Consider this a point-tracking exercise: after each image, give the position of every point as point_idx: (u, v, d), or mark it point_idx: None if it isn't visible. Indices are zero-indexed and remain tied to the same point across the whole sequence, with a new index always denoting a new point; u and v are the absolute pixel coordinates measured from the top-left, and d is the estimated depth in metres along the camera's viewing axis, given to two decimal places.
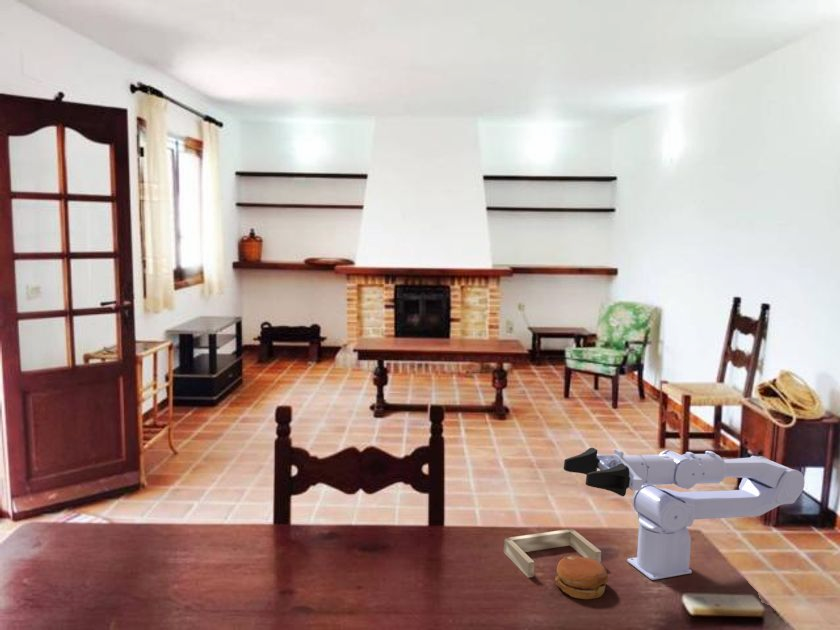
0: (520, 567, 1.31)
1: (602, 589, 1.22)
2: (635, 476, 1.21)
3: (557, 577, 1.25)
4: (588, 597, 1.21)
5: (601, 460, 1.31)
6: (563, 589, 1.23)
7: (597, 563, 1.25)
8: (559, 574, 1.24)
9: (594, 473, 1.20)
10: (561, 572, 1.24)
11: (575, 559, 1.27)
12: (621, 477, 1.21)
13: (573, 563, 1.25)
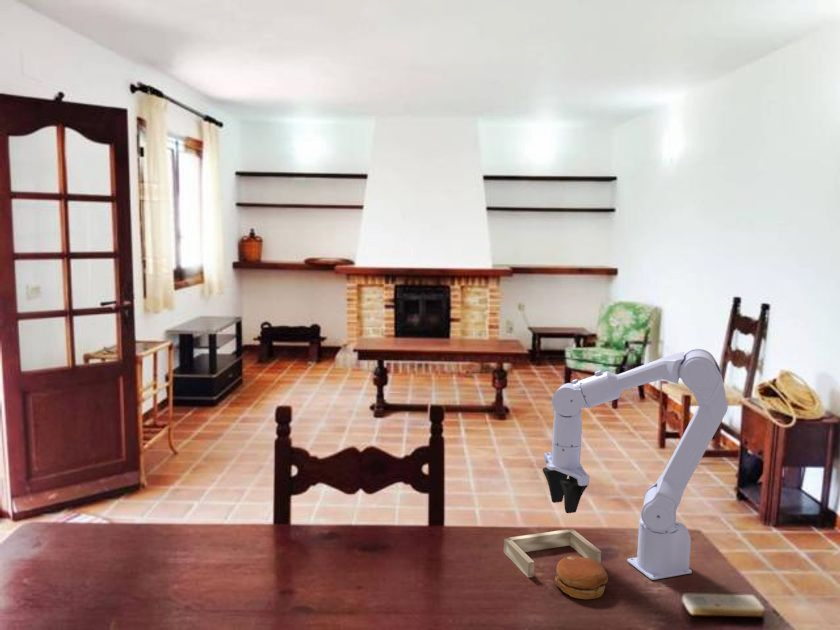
0: (520, 567, 1.31)
1: (602, 589, 1.22)
2: (576, 477, 1.31)
3: (557, 577, 1.25)
4: (588, 597, 1.20)
5: None
6: (563, 589, 1.22)
7: (597, 563, 1.25)
8: (559, 574, 1.24)
9: (566, 507, 1.35)
10: (561, 572, 1.24)
11: (575, 559, 1.27)
12: None
13: (573, 563, 1.25)
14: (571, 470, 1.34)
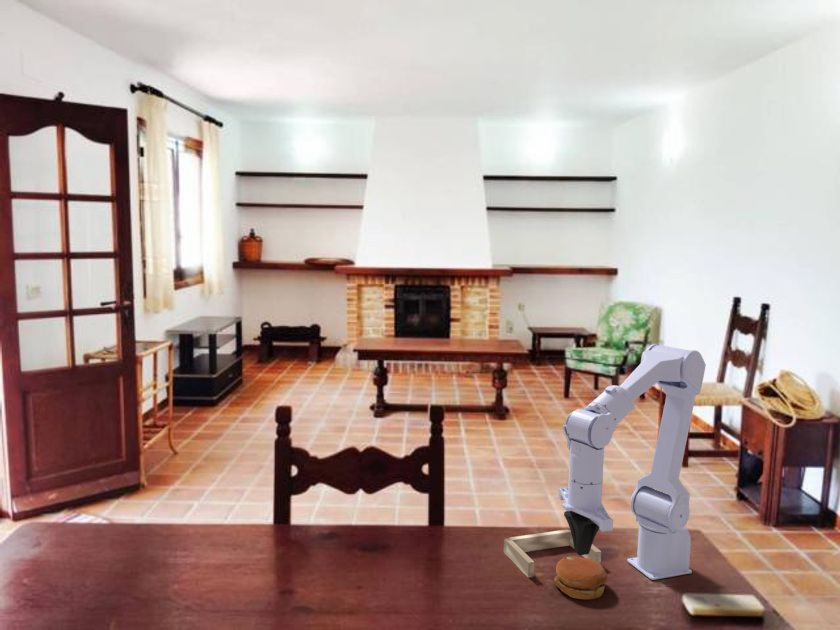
0: (520, 567, 1.31)
1: (601, 589, 1.22)
2: (597, 521, 1.12)
3: (556, 577, 1.25)
4: (587, 597, 1.20)
5: None
6: (562, 589, 1.22)
7: (596, 563, 1.25)
8: (558, 574, 1.24)
9: (578, 549, 1.17)
10: (561, 572, 1.23)
11: (574, 559, 1.27)
12: None
13: (573, 563, 1.25)
14: (591, 511, 1.14)
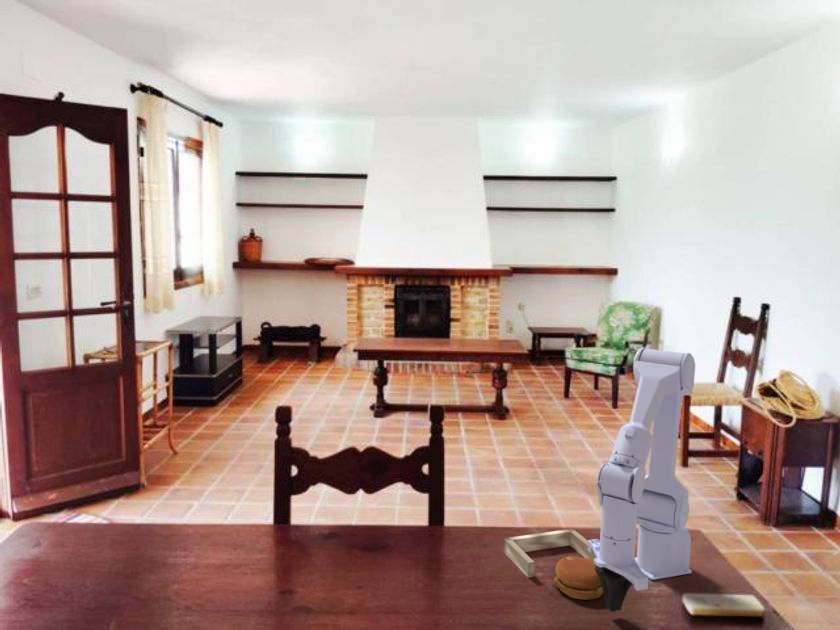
0: (520, 567, 1.31)
1: (601, 589, 1.22)
2: (632, 579, 1.08)
3: (556, 577, 1.25)
4: (587, 597, 1.20)
5: None
6: (562, 589, 1.22)
7: None
8: (558, 574, 1.24)
9: (610, 605, 1.14)
10: (560, 572, 1.23)
11: (574, 559, 1.27)
12: None
13: (572, 563, 1.25)
14: (624, 568, 1.11)
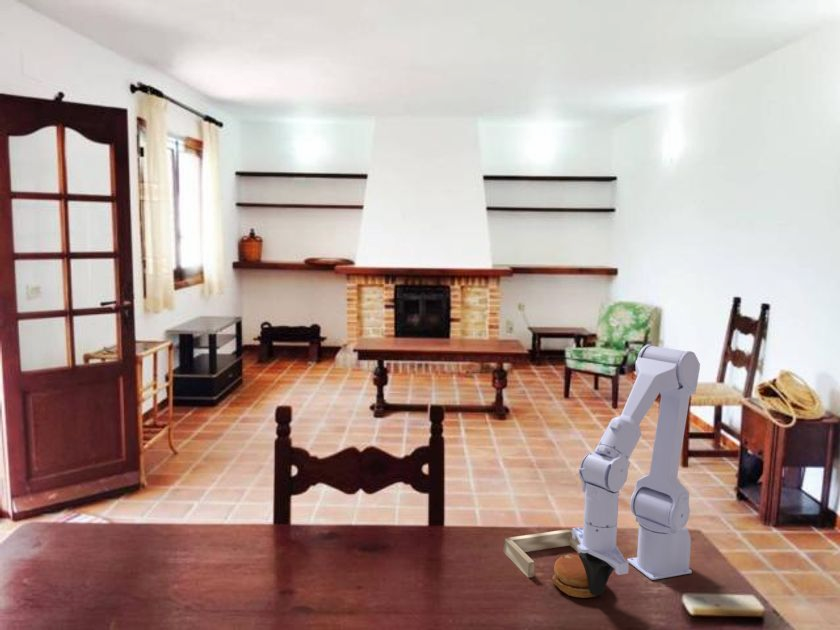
0: (520, 567, 1.31)
1: None
2: (613, 564, 1.13)
3: (554, 576, 1.26)
4: (585, 596, 1.21)
5: None
6: (560, 588, 1.23)
7: None
8: (556, 573, 1.24)
9: (592, 589, 1.19)
10: (559, 570, 1.24)
11: (572, 558, 1.27)
12: None
13: (570, 561, 1.26)
14: (606, 554, 1.16)
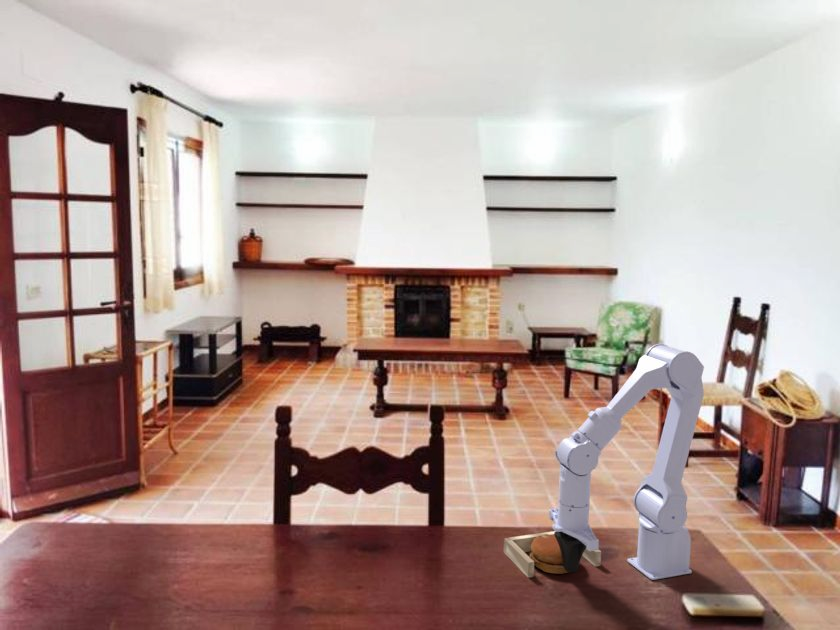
0: (520, 567, 1.31)
1: None
2: (584, 541, 1.22)
3: (531, 554, 1.34)
4: (559, 572, 1.29)
5: None
6: (536, 564, 1.31)
7: None
8: (533, 551, 1.32)
9: (567, 566, 1.27)
10: (535, 548, 1.32)
11: (548, 537, 1.36)
12: None
13: (546, 541, 1.34)
14: (579, 532, 1.24)
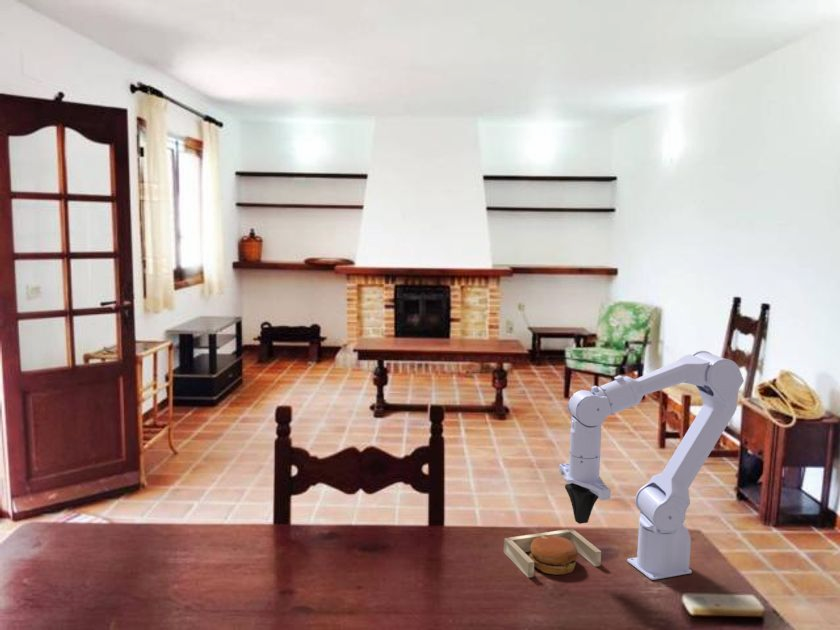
0: (520, 567, 1.31)
1: (572, 565, 1.31)
2: (596, 491, 1.23)
3: (531, 555, 1.34)
4: (559, 572, 1.29)
5: None
6: (536, 565, 1.31)
7: (568, 542, 1.34)
8: (532, 552, 1.32)
9: (578, 518, 1.29)
10: (534, 549, 1.32)
11: (548, 538, 1.36)
12: None
13: (546, 541, 1.34)
14: (590, 483, 1.26)
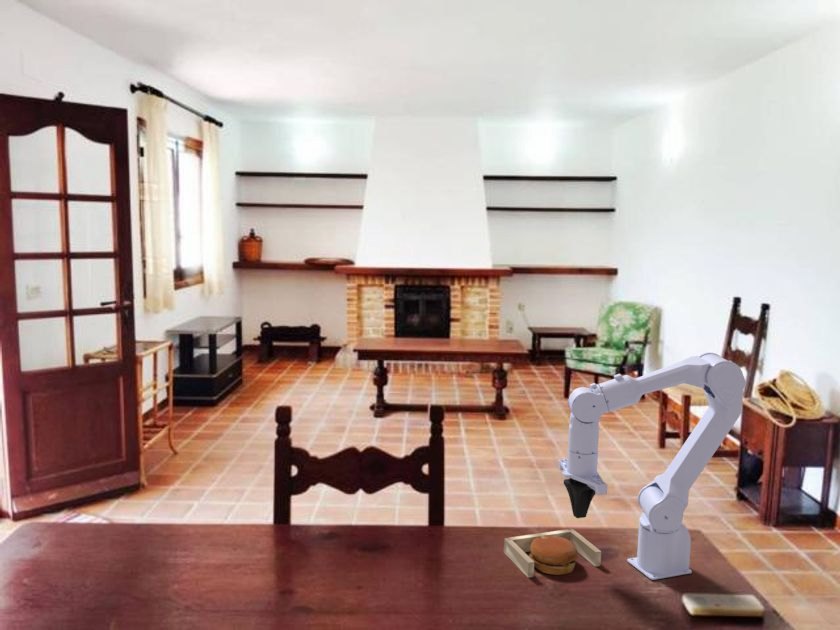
0: (520, 567, 1.31)
1: (572, 566, 1.31)
2: (593, 486, 1.26)
3: (530, 555, 1.34)
4: (558, 573, 1.29)
5: None
6: (535, 565, 1.31)
7: (568, 542, 1.34)
8: (532, 552, 1.32)
9: (576, 512, 1.31)
10: (534, 549, 1.32)
11: (548, 538, 1.36)
12: None
13: (546, 542, 1.34)
14: (588, 478, 1.28)
